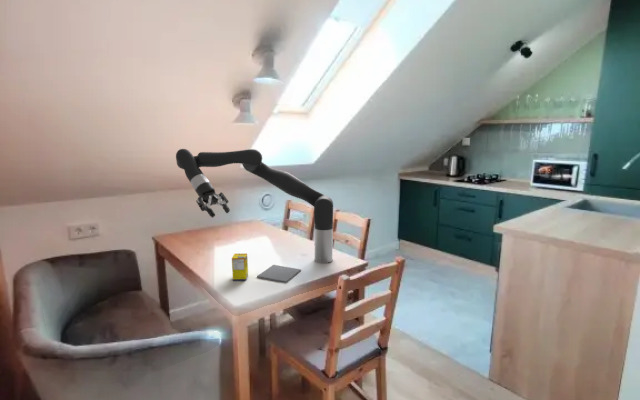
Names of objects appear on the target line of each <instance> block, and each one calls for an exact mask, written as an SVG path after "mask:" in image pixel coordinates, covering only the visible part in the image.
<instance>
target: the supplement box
mask: <svg viewBox="0 0 640 400" xmlns="http://www.w3.org/2000/svg"><path fill="white" fill-rule="evenodd" d="M248 264H249V263H248V253H245V252H244V253H233V255H232V257H231V267H232V281H233V282H239V281H240V282H241V281H243V282H244V281H247V279H248V277H249V265H248Z"/></svg>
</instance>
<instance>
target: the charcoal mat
mask: <svg viewBox="0 0 640 400" xmlns="http://www.w3.org/2000/svg"><path fill="white" fill-rule="evenodd" d="M301 271H302V269H301V268H295V267H288V266H284V265H279V264H278V265H277V264H272V265H271V266H269V267H268V268H267V269H265V270H264V271H262V272H261V273H259V274H257V276H256V278H257V279H263V280H268V281H274V282H277V283H278V282H279V283H284V284H287V283H288V282H290V281H291V280H292V279H293V278H295V277H296V276H297V275H298V274H299V273H301Z"/></svg>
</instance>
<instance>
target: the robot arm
mask: <svg viewBox="0 0 640 400" xmlns="http://www.w3.org/2000/svg"><path fill="white" fill-rule="evenodd" d="M175 159H176V160H175V161H176V165H177V167H178V168H180V169H182V170H183V171H184V174H185V176H186V179H188V181H189V183H190V184H191V186H192V188H193V190H194V191H195V192H196V194H197V195H198V198H196V203H197V204H196V205H198V207H199V209H200V210H201V212H207V214H208V215H209V217H210V218H212V219H213V218H214V217H215V216H216V213H215V212H214V210H213V209H212V207H211V206H214V205H217V206H221V207H222V209H223V210H224V212H225V213H226V214H229V213H230V211H231V210H230V207H229V206H228V203H229V200H228V198H227V197H226V196H225V194H224V193H223V192H219V193H216V191H215V188H214V186H213V185H212V183H211V181H210V180H209V179H208V177H206V175H205V174H204V173H203V171H202V169H200V168H216V167H219V168H220V167H223V166H228V165H232V164H241V165H242V167H243V169H244V170H245V171H247V172H249V173H250V174H253V175H254V176H257V177H259V178H261V179H263V180H265V181H266V182H267V183H269V184H272V185H273V186H275V188H277V189H279V190H281V191H283V193H286V194H287V195H288V196H292V197H294V198H296V199H300V200H302V201H305V202H306V203H308V204H309V205H311V206H312V207H313V208H314V209H313V211H314V213H313V214H314V217H313V219H314V223H313V224H314V261H315V262H316V263H319V264H327V263H328V262H329V263H331V262H332V261H333V247H334V246H333V245H334V244H333V241H334V237H333V236H334V234H333V233H334V219H333V218H334V201H333V200H332V198H331V197H330V196H328V195H325V194H324V193H321V192H320V191H317V190H315V189H314V188H312V187H310V186H309V185H307V184H306V183H305V182H303V181H302V180H300V179H299V178H297V177H296V176H294V175H293V174H291V173H289V172H288V171H285V170H281V169H276V168H273V167H271V166H269V165H267V164H266V163H264V162H263V154H262V152H261V151H259V150H257V149H253V148H251V149H250V148H249V149H243V150H234V151H222V152H221V151H220V152H219V151H218V152H215V151H214V152H213V151H211V152H210V151H207V152H206V151H202V152H201V151H200V152H198V153H197V155H195V156H194V155H193V154H192V152H191V151H190V150H188V149H186V148H180V149H179V150H177V152H176V153H175ZM329 263H328V264H329Z"/></svg>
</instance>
